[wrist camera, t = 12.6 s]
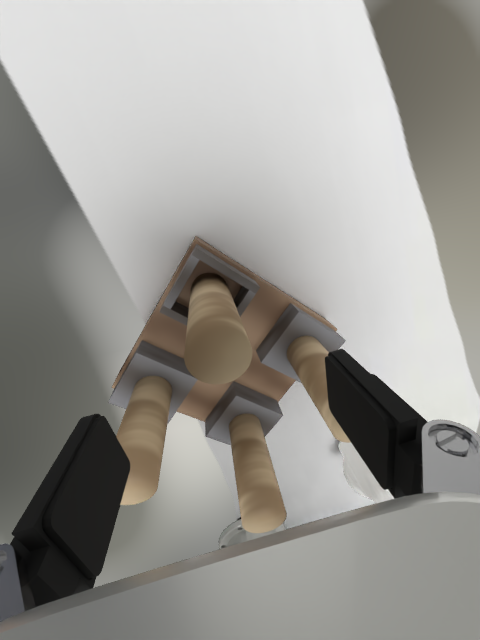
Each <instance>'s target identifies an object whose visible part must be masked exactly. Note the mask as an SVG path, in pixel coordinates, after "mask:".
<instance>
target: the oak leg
mask: <svg viewBox="0 0 480 640" xmlns="http://www.w3.org/2000/svg"><path fill="white" fill-rule="evenodd" d="M184 360H185V365H186V367H187V369H188V371H189V372H190V373H191V375H192V376H194V377H195V378H196V379H198V380H199V381H202V382H204V383H208V384H225V383H229V382H231V381H234V380H236V379H237V378H239V377H240V376H241V375H242V374H244V372H245V371H246V370H247V369H248V367H249V365H250V363H251V360H252V347H251V344H250V341H249V339H248V336H247V334H246V331H245V329H244V326H243V324H242V321H241V318H240V316H239V313H238V311H237V308H236V306H235V303H234V301H233V298H232V295H231V293H230V290H229V288H228V285H227V283H226V281H225V280H224V279H223V278H222V277H221V276H220V275H218V274H215V273H204V274H201V275H199V276H198V277H197V278H196V279H195V280H194V281H193V283H192V286H191V293H190V302H189V312H188V322H187V332H186V342H185V352H184Z"/></svg>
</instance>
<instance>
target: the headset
mask: <svg viewBox="0 0 480 640" xmlns="http://www.w3.org/2000/svg"><path fill="white" fill-rule="evenodd" d="M338 447H339V450H340V452H341V454H342V456H343V472H344V475H345V478H346V480H347V482H348V484H349V485H350V486H351V488H352V489H353V490H354V491H355V492H357V493H358V494H360V495H361V496H363V497H366V498H368V499H371V500H373V501H374V502H375V503H380V502H384V501H387V500H391V499H394V497H393V496H392V494H391V493H390V492H389V490H388V489H387V490H384V489H383V488H382V487H381V486H380V485H379V483H378V482H377V480H376V479H375V477H374V476H373V474H372V473H371V471H370V470H369V468H368V467H367V465H366V464H365V462H364V461H363V459H362V458H361V456H360V455H359V453H358V452H357V450H356V449H355V448H354V446H353V445H352V443H351V442H349V443H347V442H341V441H340V443H339V445H338ZM404 497H405V496H404Z"/></svg>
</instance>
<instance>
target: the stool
mask: <svg viewBox="0 0 480 640" xmlns="http://www.w3.org/2000/svg"><path fill="white" fill-rule="evenodd" d="M204 273H215V274H218V275H220V276H221V277H222V278H223V279H224V280H225V281H226V283H227V285H228V288H229V290H230V293H231V295H232V298H233V301H234V303H235V306H236V308H237V311H238V313H239V316H240V318H241V321H242V324H243V326H244V329H245V331H246V334H247V336H248V339H249V341H250V344H251V347H252V360H251V363H250V365H249V367H248V369H247V370H246V371H245V372H244V374H242V375H241V376H240V377H239V378H237V379H236V380H234V381H231V382H229V383H225V384H208V383H204V382H202V381H199V380H198V379H196V378H195V377H194V376H192V375H191V373H190V372H189V371H188V369H187V367H186V365H185V360H184V352H185V342H186V332H187V322H188V312H189V302H190V293H191V286H192V283H193V281H194V280H195V279H196V278H197V277H198V276H199V275H201V274H204ZM336 330H337V328H335V327H334V326H333V325H332V324H331V323H330V322H328V321H327V320H326V319H325V318H323V317H322V316H320V315H319V314H317V313H315V312H314V311H312V310H311V309H309V308H308V307H306V306H305V305H303V304H301V303H300V302H298V301H297V300H295V299H294V298H292V297H290V296H289V295H287V294H286V293H284V292H283V291H281V290H279V289H278V288H276V287H275V286H273V285H272V284H270V283H269V282H267V281H265V280H264V279H262V278H261V277H259V276H258V275H256V274H254V273H253V272H251V271H250V270H248V269H247V268H245V267H243V266H242V265H240V264H239V263H237V262H236V261H234V260H233V259H231V258H229V257H228V256H226V255H225V254H223V253H222V252H220V251H218V250H217V249H215V248H214V247H212V246H211V245H209V244H207V243H206V242H204V241H203V240H201V239H200V238H198V237H197V236H195V238H194V240H193V242H192V243H191V245H190V247H189V249H188V250H187V252H186V254H185V256H184V258H183V259H182V261H181V263H180V265H179V267H178V268H177V270H176V272H175V274H174V275H173V277H172V279H171V281H170V283H169V284H168V286H167V288H166V290H165V292H164V293H163V295H162V297H161V299H160V300H159V302H158V304H157V306H156V308H155V309H154V311H153V313H152V315H151V316H150V318H149V320H148V322H147V324H146V325H145V327H144V329H143V331H142V333H141V334H140V336H139V338H138V340H137V341H136V343H135V345H134V347H133V349H132V350H131V352H130V354H129V356H128V357H127V359H126V361H125V363H124V365H123V366H122V368H121V370H120V372H119V374H118V376H117V378H116V380H115V382H114V384H113V386H112V388H114V391H113V393H112V395H111V397H110V399H109V402H108V403H110V404H113V405H116V406H118V407H121V408H124V409H126V411H125V414H124V417H123V420H122V422H121V425H120V428H119V430H118V433H117V436H116V437H117V439H118V441H119V443H120V444H121V446H122V448H123V450H124V452H125V453H126V455H127V457H128V459H129V461H130V472H129V475H128V479H127V483H126V486H125V490H124V493H123V497H122V500H121V504H120V505H133V504H138V503H141V502H144V501H146V500H148V499H149V498H151V497H152V496H153V495H154V494H155V492H156V491H157V487H158V481H159V475H160V468H161V462H162V454H163V448H164V441H165V435H166V429H167V423H169V421H170V420H171V418H172V417H173V415H174V414H175V413H176V411H177V412H180V413H182V414H185V415H188V416H191V417H193V418H196V419H199V420H201V421H204V422H205V427H206V437H209V438H212V439H214V440H217V441H220V442H223V443H226V444H229V445H231V447H232V455H233V462H234V469H235V477H236V484H237V491H238V499H239V506H240V514H241V521H242V526H243V528H244V529H245V530H246V531H248V532H251V533H264V532H268V531H271V530H274V529H275V528H277V527H279V526H280V525H281V524H282V523H283V522H284V521H285V519H286V510H285V507H284V503H283V500H282V496H281V493H280V489H279V486H278V482H277V479H276V476H275V472H274V469H273V465H272V462H271V458H270V455H269V451H268V448H267V444H266V441H265V436H266V435H267V434H268V433H269V431H270V430H271V429H272V428H273V427H274V425H275V424H276V423H277V422H278V421H279V419H280V418H281V417H282V416H283V414H282V412H281V409H280V407H279V404H278V401H279V400H280V399H281V398H282V397H283V395H284V394H285V393H286V392H287V390H288V389H289V388H290V387H291V386H292V384H293V383H294V382H295V381H296V380H297V381H299V382H301V383H302V384H303V386H304V387H305V389H306V391H307V392H308V394H309V396H310V397H311V399H312V401H313V402H314V404H315V406H316V407H317V409H318V411H319V412H320V414H321V416H322V417H323V419H324V421H325V422H326V424H327V426H328V427H329V429H330V431H331V432H332V434H333V436H334V437H335V438H336V439H337V440H339V441H341V442H347V443H349V442H350V440H349V439H348V437H347V436H346V434H345V433H344V431H343V430H342V428H341V427H340V425H339V424H338V422H337V421H336V419H335V418H334V416H333V415H332V413H331V411H330V409H329V404H328V393H327V381H326V369H325V357H326V356H328V353H329V352H332V351H335V350H338V349H339V348H340V347H341V346H342V344H343V343H344V342H345V341H346V340H345V339H343V338H342V337H341V336H340V335H339V334H338V333H337V332H336Z"/></svg>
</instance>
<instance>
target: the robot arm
mask: <svg viewBox="0 0 480 640" xmlns="http://www.w3.org/2000/svg"><path fill="white" fill-rule="evenodd" d="M325 369H326V381H327V393H328V404H329V409H330V411H331V413H332V415H333V416H334V418H335V419H336V421H337V422H338V424H339V425H340V427H341V428H342V430H343V431H344V433H345V434H346V436H347V437H348V439H349V440H350V442H351V443H352V445H353V446H354V448H355V449H356V450H357V452H358V453H359V455H360V456H361V458H362V459H363V461H364V462H365V464H366V465H367V467H368V468H369V470H370V471H371V473H372V474H373V476H374V477H375V479H376V480H377V482H378V483H379V485H380V486H381V487H382V488H383V489H384V490H387V489H388V490H389V492H390V493H391V494H392V496H393V497H394V499H391V500H387V501H384V502H380V503H376V504H373V505H369V506H365V507H362V508H358V509H355V510H351V511H347V512H344V513H340V514H337V515H333V516H330V517H327V518H323V519H320V520H316V521H313V522H310V523H306V524H303V525H300V526H296V527H293V528H289V529H285V526H284V524H283V523H282V524H281V525H280V526H279V527H277V528H275V529H274V530H271V531H268V532H264V533H251V532H248V531H246V530H245V529H244V528H243V526H242V521H241V519H240V520H238V521H236V522H234V523H232V524H231V525H229V526H228V527H227V528H226V529H225V530H224V531H223V532H222V534H221V536H220V538H219V550H216V551H213V552H209V553H206V554H203V555H199V556H196V557H193V558H190V559H186V560H183V561H180V562H176V563H173V564H170V565H167V566H163V567H160V568H157V569H154V570H150V571H147V572H144V573H141V574H138V575H134V576H131V577H128V578H124V579H121V580H118V581H115V582H111V583H108V584H105V585H102V586H98V587H95V588H93V586H94V583H95V579H96V576H98V575H99V574H100V573H101V571H102V568H103V564H104V561H105V557H106V554H107V550H108V546H109V543H110V540H111V536H112V532H113V529H114V525H115V522H116V518H117V515H118V510H119V508H120V504H121V500H122V497H123V493H124V490H125V486H126V483H127V479H128V475H129V472H130V461H129V459H128V457H127V455H126V453H125V452H124V450H123V448H122V446H121V444H120V443H119V441H118V439H117V437H116V436H115V434H114V432H113V430H112V429H111V427H110V425H109V423H108V421H107V420H106V418H105V417H104V416H100V415H99V414H94V415H90V416H86V417H83V418H81V419H80V420H79V422H78V424H77V426H76V427H75V429H74V430H73V432H72V434H71V435H70V437H69V439H68V440H67V442H66V444H65V445H64V447H63V449H62V450H61V452H60V454H59V455H58V457H57V459H56V460H55V462H54V464H53V466H52V467H51V469H50V470H49V472H48V474H47V475H46V477H45V479H44V480H43V482H42V484H41V485H40V487H39V489H38V490H37V492H36V494H35V495H34V497H33V499H32V500H31V502H30V504H29V505H28V507H27V509H26V510H25V512H24V514H23V515H22V517H21V519H20V520H19V522H18V524H17V525H16V527H15V529H14V530H13V532H12V535H13V536H15V537H14V538H13V540H12V542H11V544H6V543H5V544H0V640H480V436H479V435H478V434H477V433H475V432H474V431H472V430H471V429H470V428H468V427H466V426H464V425H462V424H459V423H456V422H453V421H448V420H432V421H430V422H427V421H426V420H425V419H424V418H423V417H422V416H421V415H419V414H418V413H417V412H416V411H415V410H414V409H413V408H412V407H410V406H409V405H408V404H407V403H406V402H405V401H404V400H403V399H402V398H400V397H399V396H398V395H397V394H396V393H395V392H394V391H393V390H391V389H390V388H389V387H388V386H387V385H386V384H385V383H384V382H383V381H381V380H380V379H379V378H378V377H377V376H375V375H373V374H370V373H369V372H368V371H366V370H365V369H364V368H363V367H362V366H361V365H360V364H359V363H358V362H357V361H356V360H354V359H353V358H352V357H351V356H350V355H349V354H348V353H347V352H346V351H345V350H343V349H339V350H335V351H332V352H329V353H328V356H326V357H325ZM404 496H405V497H404Z"/></svg>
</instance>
